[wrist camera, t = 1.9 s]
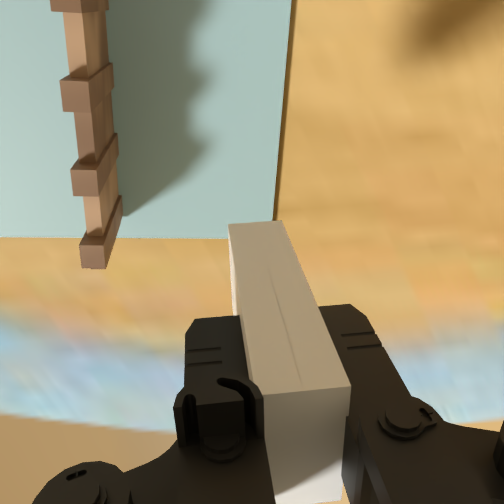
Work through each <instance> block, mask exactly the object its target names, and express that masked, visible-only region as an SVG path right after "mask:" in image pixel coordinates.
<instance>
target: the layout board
mask: <svg viewBox="0 0 504 504" xmlns="http://www.w3.org/2000/svg"><path fill="white" fill-rule="evenodd" d="M108 3H109V10H105V14H106V28H107V41H108V55H109V62H111V63H113V75H114V88H113V89H112V90H111V96H112V110H113V124H114V133H118V147H119V156H118V158H117V160H116V165H117V179H118V192H119V195H122V204H123V216H122V219H121V224H120V227H119V230H118V233H117V236H116V238H217V239H229V238H228V224H236V223H250V222H264V221H272V218H273V207H274V195H275V184H276V172H277V161H278V149H279V138H280V126H281V115H282V103H283V92H284V80H285V69H286V57H287V46H288V35H289V23H290V12H291V0H108ZM67 75H69V66H68V57H67V48H66V38H65V29H64V20H63V12H52V11H51V7H50V0H0V237H68V238H83V236H84V234H85V232H86V221H85V212H84V202H83V196H73V191H72V182H71V174H70V169H71V168H72V166H73V165H74V163H75V162H76V161H77V159H78V158H79V157H78V148H77V139H76V130H75V120H74V112H63V107H62V99H61V90H60V82H59V80H61V79H62V78H64V77H66V76H67Z"/></svg>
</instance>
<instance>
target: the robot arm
mask: <svg viewBox="0 0 504 504" xmlns="http://www.w3.org/2000/svg"><path fill="white" fill-rule="evenodd" d="M228 238H229V256H230V274H231V291H232V308H233V315H234V316H222V317H211V318H199V319H195V320H194V321H193V323H192V324H191V326H190V327H189V329H188V330H187V332H186V334H185V370H184V387H183V389H182V390H181V391H180V392H179V393H178V394H177V396H176V400H175V403H174V406H173V411H174V418H175V425H176V432H177V440H176V441H175V443H174V444H173V445H172V446H171V447H170V449H169V450H167V451H166V452H165V453H164V454H162V455H161V456H160V457H158V458H156V459H154V460H152V461H150V462H149V463H146V464H144V465H142V466H139V467H137V468H134V469H132V470H129V471H127V472H124V473H123V472H122V471H121V470H120V469H119V468H118V467H117V466H115V465H112V464H109V463H105V462H102V461H95V462H83V463H80V464H78V465H75V466H73V467H70V468H67V469H65V470H64V471H62V472H61V473H59V474H58V475H57V476H55V477H54V478H53V479H51V480H50V481H48V483H47V484H46V485H45V486H44V488H43V489H42V490H41V491H40V493H39V494H38V495H37V496H36V498H35V499H34V501H33V503H32V504H313V503H322V502H329V501H339V500H341V497H342V485H343V483H344V486H345V489H346V493H347V496H348V499H349V502H350V504H504V421H503V424H502V427H501V430H500V432H496V431H490V430H483V429H477V428H470V427H464V426H459V425H455V424H451V423H448V422H446V421H443V419H442V418H441V416H440V415H439V414H438V413H437V412H436V411H435V410H434V409H433V407H431V406H430V405H428V404H426V403H425V402H423V401H422V400H420V399H418V398H415V397H412V396H411V395H410V393H409V391H408V389H407V388H406V386H405V384H404V382H403V381H402V379H401V377H400V375H399V373H398V372H397V370H396V368H395V366H394V365H393V363H392V361H391V359H390V358H389V356H388V354H387V352H386V350H385V349H384V347H382V343H381V342H380V340H379V338H378V336H377V334H375V331H374V329H373V327H372V326H371V324H370V322H369V320H368V319H367V317H366V316H365V315H364V314H363V313H361V312H360V311H359V310H357V309H356V308H355V307H353V306H352V305H351V304H343V305H332V306H320V307H318V306H317V303H316V301H315V299H314V296H313V294H312V291H311V289H310V287H309V284H308V282H307V280H306V277H305V275H304V272H303V270H302V268H301V265H300V263H299V261H298V258H297V256H296V253H295V251H294V249H293V246H292V244H291V241H290V239H289V237H288V234H287V232H286V230H285V227H284V225H283V222H282V220H278V221H264V222H250V223H236V224H228Z"/></svg>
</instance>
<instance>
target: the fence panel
mask: <svg viewBox="0 0 504 504" xmlns="http://www.w3.org/2000/svg"><path fill="white" fill-rule="evenodd" d="M50 7H51V11H52V12H63V20H64V29H65V38H66V48H67V57H68V66H69V75H67V76H66V77H64V78H62V79H61V80H59V82H60V90H61V99H62V107H63V112H74V120H75V130H76V139H77V148H78V157H79V158H78V159H77V161H76V162H75V163H74V165H73V166H72V168H71V169H70V174H71V182H72V191H73V196H83V202H84V212H85V221H86V232H85V234H84V236H83V238H82V240H81V242H80V244H79V249H80V258H81V266H82V268H91V269H106V267H107V264H108V261H109V258H110V255H111V252H112V249H113V246H114V243H115V239H116V236H117V233H118V230H119V227H120V224H121V219H122V216H123V204H122V195H119V192H118V179H117V165H116V160H117V158H118V156H119V147H118V133H114V124H113V110H112V96H111V90H112V89H113V88H114V75H113V63H111V62H109V55H108V41H107V28H106V14H105V10H109V3H108V0H50Z"/></svg>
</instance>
